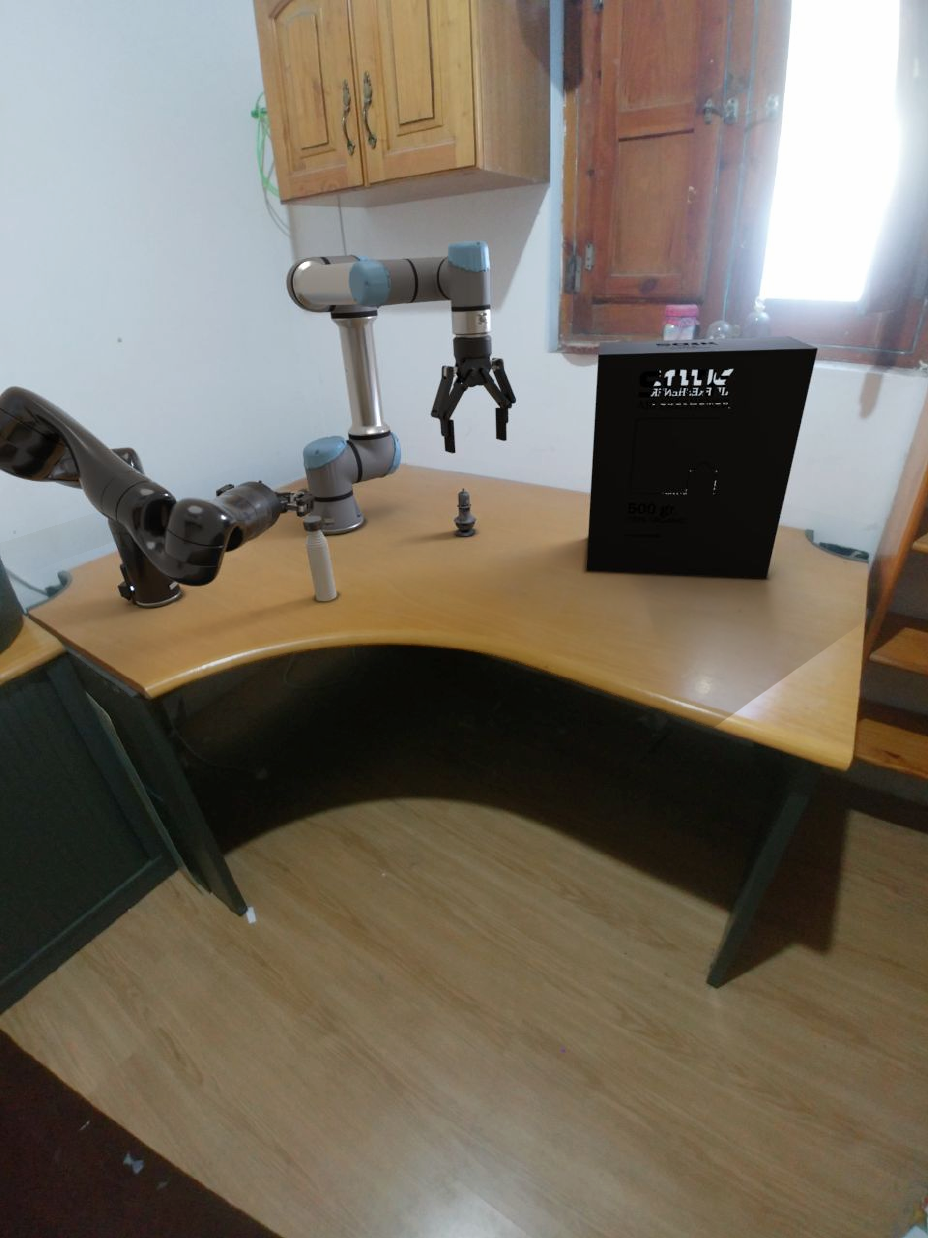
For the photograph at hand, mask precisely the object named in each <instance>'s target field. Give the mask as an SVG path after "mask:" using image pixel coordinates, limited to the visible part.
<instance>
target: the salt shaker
mask: <svg viewBox="0 0 928 1238" xmlns="http://www.w3.org/2000/svg"><path fill="white" fill-rule="evenodd" d="M461 490H462V491H460V492H458V494H457V500H458V504H457V505H456V507H457V508H458V516H456V517H454V519H453V522H454V524H455V526H456V528H458V529H457V530H456V531H455V534H456V535H457V536H460V537H469V536H473V535H475V534H476V529H474V527H475V524H476V521H477V517H475V516H473V515H472V513H471V507H472V504H471V502H470V501H471V500H470V493H469V492H468V491H466V490H465V488H464V487H463V488H462V489H461Z"/></svg>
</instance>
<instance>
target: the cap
mask: <svg viewBox="0 0 928 1238" xmlns="http://www.w3.org/2000/svg"><path fill="white" fill-rule="evenodd" d="M302 525H303V530H304V531H305V532H307V533H308V532H314V531H318V530H321V529H322V528H323V523H322V519H321V517H320V516H310V517H309V516H306V517H303V519H302Z"/></svg>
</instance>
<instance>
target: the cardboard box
mask: <svg viewBox="0 0 928 1238" xmlns="http://www.w3.org/2000/svg"><path fill="white" fill-rule="evenodd" d="M818 349H819V348H818V347H817V346H816V347H815V346H813V345H811V344H808V343H806V342H804V341H801V340H799V339H798V338H797V339H796V338H794V337H792V336H788V335H785V336H783V335H782V336H757V337H756V336H755V337H753V336H752V337H727V338H726V337H725V338H724V337H723V338H695V339H694V338H693V339H667V340H663V339H662V340H638V341H637V340H635V341H634V340H633V341H610V342H609V341H605V342H604V341H603V342H599V347H598V353H597V372H596V374H597V375H596V390H595V404H594V407H595V408H594V422H593V423H594V426H593V443H592V461H591V463H592V464H591V479H590V495H589V497H590V499H589V516H588V534H587V553H586V570H585V571H586V572H596V573H597V572H600V573H602V572H603V573H620V574H621V573H623V574H645V575H646V574H647V575H670V576H691V577H714V578H715V577H717V578H718V577H719V578H739V579H741V578H743V579H761V580H762V579H765V580H767V578H768V575H769V569H770V564H771V560H772V557H773V551H774V547H775V542H776V538H777V534H778V529H779V524H780V520H781V515H782V511H783V506H784V503H785V498H786V493H787V489H788V484H789V479H790V475H791V471H792V467H793V462H794V457H795V453H796V448H797V443H798V439H799V436H800V430H801V426H802V421H803V417H804V413H805V408H806V403H807V400H808V394H809V390H810V385H811V381H812V377H813V372H814V367H815V363H816V358H817V354H818V351H819V350H818ZM729 370H732V371H731V372H730V373H729V375H723V374H724V373H725V371H729ZM670 371H674V375H672V376H671V377H670V385H668V384H669V376H668V375H667V373H668V372H670ZM681 371H686V372H685V381H687V384H682V381H683V375H681ZM693 371H697V372H696V375H693ZM710 371H712V375H711V380H710V382H709V375H710ZM695 379H696V381H700V384H695ZM719 380H720V381H724V382H723V383H724V384H717V383H715V381H719ZM657 382H658V383H659V384H660V385H655V384H656V383H657ZM708 382H709V383H708Z"/></svg>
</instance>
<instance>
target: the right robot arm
mask: <svg viewBox="0 0 928 1238" xmlns="http://www.w3.org/2000/svg"><path fill="white" fill-rule="evenodd" d="M490 263H491V262H490V252H489V245H488V244H487V242H485V241H484V240H466V241H455V242H451V243H450V244H449V245H448V247H447V256H431V257H430V256H427V257H413V258H411V257H410V258H391V259H390V258H386V259H374V258H370V257H369V256H367V255H358V254H349V255H328V256H326V255H325V256H310V257H305V258H302V259H300V260H298V261H296V262H295V263H293V265H291V267H290V268H289V269H288V272H287V275H286V281H285V282H286V283H285V284H286V285H285V286H286V290H287V293H288V296H289V297H290V299H291V300H292V303H294V304H295V305H296V306H298V307H299V308H300V309H302V310H304V311H306V312H310V313H318V314H319V313H320V314H321V313H330V320H331V321H332V322H333V323H334V324H335V325H336V326H337V327H338V332H339V333H338V334H339V339H340V347H341V355H342V361H343V369H344V375H345V382H346V383H345V384H346V389H347V396H348V404H349V410H350V418H351V425H350V426H349V428H348V430H347V436H348V439H345V437H343V436H341V435H332V436H324V437H321V438H318V439H315V440H312V441H311V442H309V443H308V444H306V445H305V446H304V448H303V450H302V457H303V459H302V460H303V467H304V471H305V476H306V481H307V486H308V492H310V494H313V495H314V510H313V511H312V512H310V513H309V514H308V517H310V516H320V517H321V519H322V523H323V528H322V529H321V532H322V534H323V535H324V536H327V535H329V536H331V535H339V534H340V535H341V534H345V533H350V532H353V531H355V530H357V529H359V528H361V527H362V526H363V525H364V523H365V519H364V514H363V512H362V510H361V508H360V505H359V504H358V501H357V500H356V498H355V495H354V489H353V485H354V484H355V485H356V484H359V483H363V482H368V481H371V480H375V479H381V478H385V477H387V476H390V475H392V474H394V473H396V472H397V470H398V469H399V467H400V465H401V462H402V446H401V443H400V441H399V437H398V436H397V435H396V434H395V432H394V431H391V426H390V425H388V423H386V422H385V420H384V419H385V418H384V410H383V402H382V393H381V385H380V377H379V368H378V367H379V366H378V358H377V349H376V341H375V331H374V324H375V322H376V320H377V319H378V317H379V314H378V309H379V308H381V307H385V306H394V305H403V304H405V305H406V304H417V303H419V304H420V303H427V302H428V303H429V302H444V301H448V302H449V301H450V311H451V313H450V314H451V315H450V316H451V334H453V335H454V337H453V339H452V350H453V358H454V359H455V363H454V366H452V365H442V366H441V373H440V374H441V375H440V376H441V377H440V381H439V384H438V388H437V390H436V395H435V398H434V401H433V404H432V407H431V411H430V416H431V418H435V419H438V421H439V426H440V435H441V437H443V441H444V442H443V443H444V452H446V453H450V454H456V433H455V420H454V419H451V418H452V416H453V414H454V413H455V410H456V409H457V406H458V404H459V402H460V401H461V399H462V397H463V396H464V393H465V392H466V391H468V389H469V388H474V387H477V386H478V387H482V386H483V387H484V389H485V390H486V391H487V392H488V394H489V396H491V398H492V399H493V401H494V402H495V403H496V405H497V406H498V407H495V408H494V410H495V411H494V413H495V414H494V415H495V439H496V440H499V441H502V442H507V441H508V438H507V435H508V433H507V424H509V410H510V409H512V407H513V404H516V403H517V398H516V394H515V393H514V390H513V388H512V385H511V383H510V380H509V378H508V375H507V373H506V370H505V363H504V362H505V361H504V359H503V358H499V357H493V358H491V356H492V354H493V346H492V344H493V343H492V340H493V339H492V336H491V335H489V333H491V332H492V315H491V314H492V312H491V311H492V309H491V264H490ZM491 370H492V374H493V376H494V378H493V376H492V375H491ZM455 377H456V378H455ZM454 378H455V380H454ZM495 381H496V383H497V384H496V383H495ZM258 482H259V483H262V484H263V481H262V480H258ZM283 497H284V498H285V495H283ZM296 498H297V497H295V498H294V501H296Z"/></svg>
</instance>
